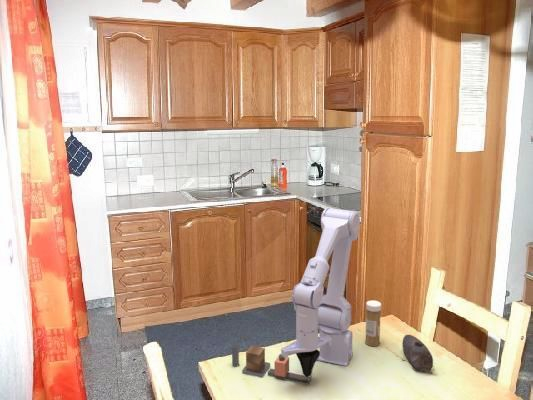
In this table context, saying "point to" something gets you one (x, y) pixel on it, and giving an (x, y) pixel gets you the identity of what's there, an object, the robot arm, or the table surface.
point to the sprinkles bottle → (373, 323)
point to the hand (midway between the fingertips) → (306, 374)
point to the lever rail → (292, 377)
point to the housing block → (255, 358)
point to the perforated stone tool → (417, 353)
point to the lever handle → (281, 366)
